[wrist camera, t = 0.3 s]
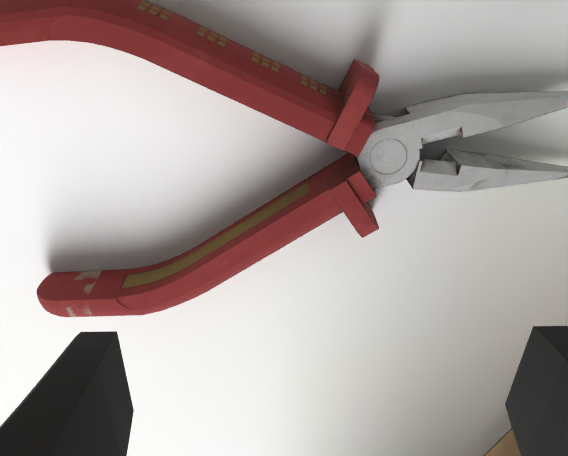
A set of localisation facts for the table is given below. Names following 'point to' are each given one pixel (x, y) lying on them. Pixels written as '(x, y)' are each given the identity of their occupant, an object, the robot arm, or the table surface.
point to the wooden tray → (505, 446)
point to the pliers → (292, 111)
